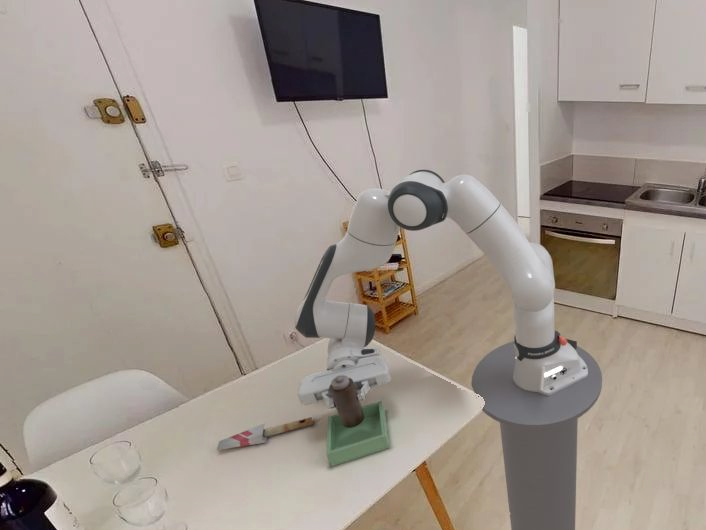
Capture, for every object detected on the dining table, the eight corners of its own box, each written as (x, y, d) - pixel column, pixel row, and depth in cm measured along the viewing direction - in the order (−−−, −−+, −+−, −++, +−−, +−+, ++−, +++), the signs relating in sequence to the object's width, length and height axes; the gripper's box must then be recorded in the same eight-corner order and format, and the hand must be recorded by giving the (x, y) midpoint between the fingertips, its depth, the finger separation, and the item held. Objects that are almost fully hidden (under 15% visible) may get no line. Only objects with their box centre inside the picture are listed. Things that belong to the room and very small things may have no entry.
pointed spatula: (217, 435, 97) (311, 411, 105) (221, 443, 99) (313, 419, 106) (213, 447, 94) (310, 422, 102) (217, 455, 96) (312, 430, 103)
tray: (385, 412, 107) (381, 400, 105) (389, 447, 97) (385, 435, 95) (332, 427, 103) (328, 416, 101) (331, 466, 93) (326, 454, 91)
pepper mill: (364, 409, 100) (350, 366, 93) (365, 423, 96) (350, 380, 89) (342, 415, 98) (326, 372, 91) (342, 430, 94) (325, 386, 87)
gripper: (296, 368, 99) (290, 405, 88) (384, 346, 106) (389, 379, 95) (304, 387, 102) (300, 426, 91) (389, 365, 109) (395, 399, 98)
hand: (346, 402), depth 93 cm, fingers closed on pepper mill, 5 cm apart
